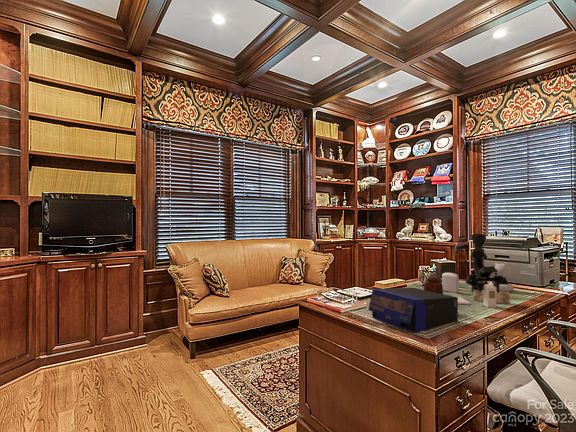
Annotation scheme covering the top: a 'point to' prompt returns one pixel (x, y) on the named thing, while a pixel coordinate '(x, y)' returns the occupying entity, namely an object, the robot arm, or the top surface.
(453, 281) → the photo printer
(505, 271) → the decorative figurine
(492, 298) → the plain beige block
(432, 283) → the wooden figurine
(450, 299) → the headphone box
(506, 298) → the birch partition
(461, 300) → the pad
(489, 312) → the top surface
